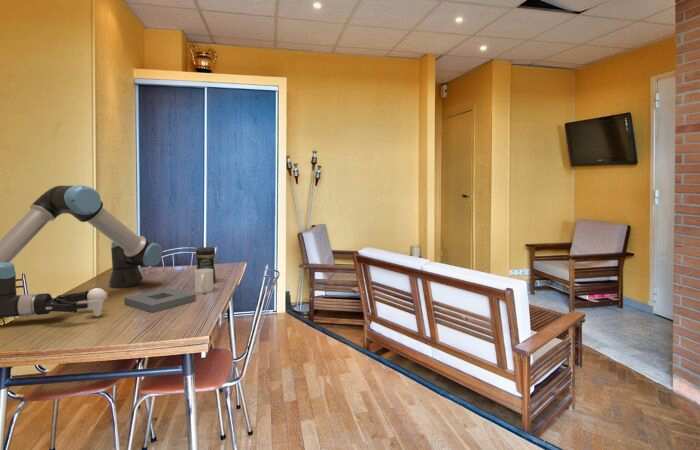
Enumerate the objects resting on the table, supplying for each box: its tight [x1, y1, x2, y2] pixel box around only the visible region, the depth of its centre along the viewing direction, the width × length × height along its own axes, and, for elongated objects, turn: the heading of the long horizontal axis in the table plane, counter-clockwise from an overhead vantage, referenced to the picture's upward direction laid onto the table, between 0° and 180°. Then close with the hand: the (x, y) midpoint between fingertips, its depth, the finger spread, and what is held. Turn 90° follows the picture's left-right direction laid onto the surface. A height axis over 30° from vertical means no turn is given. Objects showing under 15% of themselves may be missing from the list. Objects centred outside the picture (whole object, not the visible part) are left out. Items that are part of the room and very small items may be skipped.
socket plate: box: [123, 287, 197, 314], centre depth 173 cm, size 20×20×3 cm
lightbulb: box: [86, 287, 106, 318], centre depth 154 cm, size 6×6×11 cm
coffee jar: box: [195, 246, 217, 284], centre depth 210 cm, size 10×8×19 cm
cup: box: [194, 268, 214, 294], centre depth 191 cm, size 8×12×10 cm
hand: (103, 299), depth 155 cm, fingers open, 13 cm apart
